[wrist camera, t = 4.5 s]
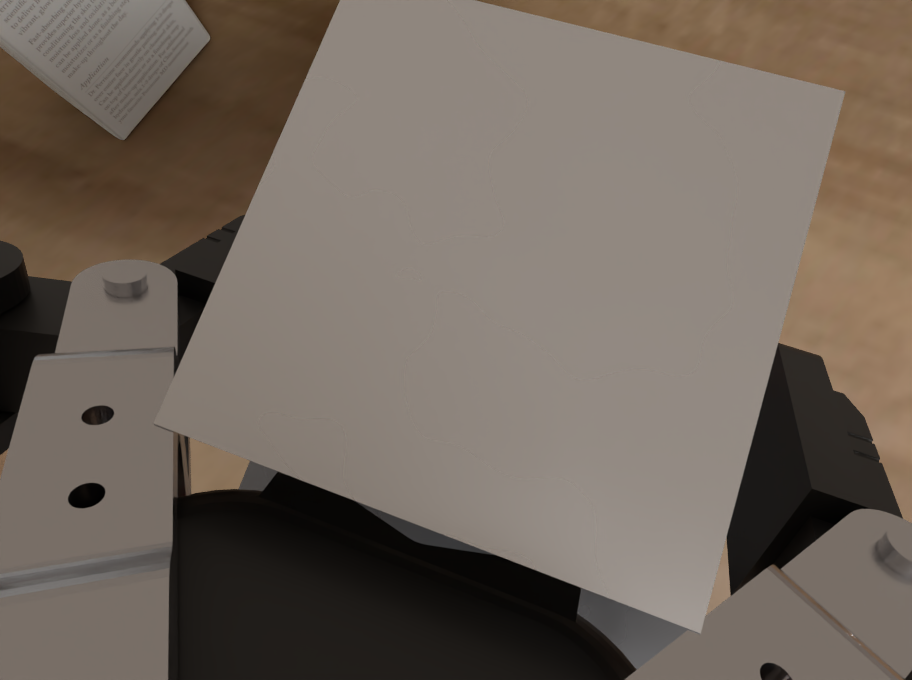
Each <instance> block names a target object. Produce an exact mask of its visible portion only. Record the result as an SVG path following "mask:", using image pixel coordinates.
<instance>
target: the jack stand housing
mask: <svg viewBox="0 0 912 680" xmlns="http://www.w3.org/2000/svg"><path fill="white" fill-rule="evenodd" d="M277 472H278V471H276V470H273V469H271V468H268V467H265V466H263V465H260V464H258V463H255V462H252V461H250V463H249V465H248V467H247V470H246V472H245V475H244V477H243V480H242V482H241V485H240V487H239V489H241V490H258V491H263V490H264V489H265V487H266V486H267V485H268V484H269V482H270V481H271V480H272V478H273V477H274V476H275V475H276V473H277ZM355 502H357V501H355ZM357 503H358V504H360V505H361V506H363V507H364V508H366V509H367V510H369V511H370V512H372V513H373V514H375V515H376V516H377V517H379V518H380V519H382V520H383V521H385V522H386V523H388V524H389V525H391V526H392V527H394V528H395V529H397V530H398V531H399V532H401V533H402V534H404V535H405V536H407V537H408V538H410V539H412V540H413V541H415V542H418V543H421V544H425V545H432V546H438V547H445V548H451V549H458V550H464V551H471V552H478V553H484V554H491V555H495V554H492V553H490V552H487V551H484V550H482V549H479V548H477V547H474V546H471V545H469V544H466V543H463V542H461V541H458V540H456V539H453V538H450V537H448V536H445V535H443V534H440V533H437V532H435V531H432V530H430V529H427V528H424V527H422V526H419V525H417V524H414V523H411V522H409V521H406V520H404V519H401V518H398V517H396V516H393V515H391V514H388V513H385V512H383V511H380V510H377V509H375V508H372V507H370V506H367V505H364V504H362V503H359V502H357ZM577 614H579V615H580V616H582V617H583V618H584V619H586V620H587V621H589V622H590V623H591V624H592V625H594V626H595V627H596V628H597V629H598V630H600V631H601V632H602V633H603V634H605V635H606V636H607V637H608V638H609V639H610V640H611V641H612V642H613V643H614V644H615V645H616V646H617V647H618V648H619V649H620V650H621V651H622V652H623V654H624V655H625V656H626V657H627V658H628V660H629V661H630V662H631V663H632V665H633V666H634V667H635V668H636V669H639V668H640V667H641V666H642V665H644V664H645V663H646V662H648V661H649V660H650V659H651V658H653V657H654V656H655V655H656V654H658V653H659V652H660V651H662V650H663V649H664V648H665V647H667V646H668V645H669V644H671V643H672V642H673V641H674V640H676V639H677V638H678V637H679V636H681V635H682V634H683V633H685V632H686V631H687V630H688V628H685V627H682V626H680V625H677V624H675V623H672V622H669V621H667V620H664V619H661V618H659V617H656V616H654V615H651V614H648V613H646V612H643V611H641V610H638V609H635V608H633V607H630V606H628V605H625V604H622V603H620V602H617V601H615V600H612V599H609V598H607V597H604V596H602V595H599V594H596V593H594V592H591V591H589V590H586V589H583V588H581V593H580V599H579V605H578V611H577Z"/></svg>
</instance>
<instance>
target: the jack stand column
mask: <svg viewBox="0 0 912 680" xmlns="http://www.w3.org/2000/svg"><path fill="white" fill-rule="evenodd" d="M844 94H845V91H841V90H837V89H833V88H829V87H825V86H821V85H817V84H813V83H809V82H805V81H801V80H797V79H793V78H789V77H785V76H780V75H776V74H772V73H768V72H764V71H760V70H756V69H752V68H748V67H744V66H740V65H736V64H732V63H728V62H724V61H719V60H715V59H711V58H707V57H703V56H699V55H695V54H691V53H687V52H683V51H679V50H675V49H671V48H667V47H663V46H658V45H654V44H650V43H646V42H642V41H638V40H634V39H630V38H626V37H622V36H618V35H614V34H610V33H606V32H602V31H597V30H593V29H589V28H585V27H581V26H577V25H573V24H569V23H565V22H561V21H557V20H553V19H549V18H545V17H541V16H536V15H532V14H528V13H524V12H520V11H516V10H512V9H508V8H504V7H500V6H496V5H492V4H488V3H484V2H480V1H475V0H340V2H339V4H338V6H337V8H336V11H335V13H334V15H333V18H332V20H331V22H330V24H329V27H328V29H327V31H326V33H325V36H324V38H323V40H322V42H321V45H320V47H319V49H318V52H317V54H316V56H315V58H314V61H313V63H312V65H311V67H310V70H309V72H308V74H307V76H306V79H305V81H304V83H303V86H302V88H301V90H300V92H299V95H298V97H297V99H296V101H295V104H294V106H293V108H292V111H291V113H290V115H289V117H288V120H287V122H286V124H285V126H284V129H283V131H282V133H281V135H280V138H279V140H278V142H277V145H276V147H275V149H274V151H273V154H272V156H271V158H270V160H269V163H268V165H267V167H266V169H265V172H264V174H263V176H262V179H261V181H260V183H259V185H258V188H257V190H256V192H255V194H254V197H253V199H252V201H251V204H250V206H249V208H248V210H247V213H246V215H245V217H244V219H243V222H242V224H241V226H240V228H239V231H238V233H237V235H236V238H235V240H234V242H233V244H232V247H231V249H230V251H229V253H228V256H227V258H226V260H225V262H224V265H223V267H222V269H221V272H220V274H219V276H218V278H217V281H216V283H215V285H214V287H213V290H212V292H211V294H210V297H209V299H208V301H207V303H206V306H205V308H204V310H203V312H202V315H201V317H200V319H199V321H198V324H197V326H196V328H195V331H194V333H193V335H192V337H191V340H190V342H189V344H188V346H187V349H186V351H185V353H184V356H183V358H182V360H181V362H180V365H179V367H178V369H177V371H176V374H175V376H174V378H173V380H172V383H171V385H170V387H169V390H168V392H167V394H166V396H165V399H164V401H163V403H162V405H161V408H160V410H159V412H158V414H157V417H156V419H155V421H154V424H156V425H159V426H161V427H164V428H166V429H169V430H172V431H174V432H177V433H179V434H182V435H185V436H187V437H190V438H193V439H195V440H198V441H200V442H203V443H206V444H208V445H211V446H213V447H216V448H219V449H221V450H224V451H226V452H229V453H232V454H234V455H237V456H239V457H242V458H245V459H247V460H250V461H252V462H255V463H258V464H260V465H263V466H265V467H268V468H271V469H273V470H276V471H278V472H281V473H284V474H286V475H289V476H292V477H294V478H297V479H299V480H302V481H305V482H307V483H310V484H312V485H315V486H318V487H320V488H323V489H325V490H328V491H331V492H333V493H336V494H338V495H341V496H344V497H346V498H349V499H351V500H354V501H357V502H359V503H362V504H364V505H367V506H370V507H372V508H375V509H377V510H380V511H383V512H385V513H388V514H391V515H393V516H396V517H398V518H401V519H404V520H406V521H409V522H411V523H414V524H417V525H419V526H422V527H424V528H427V529H430V530H432V531H435V532H437V533H440V534H443V535H445V536H448V537H450V538H453V539H456V540H458V541H461V542H463V543H466V544H469V545H471V546H474V547H477V548H479V549H482V550H484V551H487V552H490V553H492V554H495V555H497V556H500V557H503V558H505V559H508V560H510V561H513V562H516V563H518V564H521V565H523V566H526V567H529V568H531V569H534V570H536V571H539V572H542V573H544V574H547V575H549V576H552V577H555V578H557V579H560V580H562V581H565V582H568V583H570V584H573V585H576V586H578V587H581V588H583V589H586V590H589V591H591V592H594V593H596V594H599V595H602V596H604V597H607V598H609V599H612V600H615V601H617V602H620V603H622V604H625V605H628V606H630V607H633V608H635V609H638V610H641V611H643V612H646V613H648V614H651V615H654V616H656V617H659V618H661V619H664V620H667V621H669V622H672V623H675V624H677V625H680V626H682V627H685V628H688V629H690V630H693V631H695V632H698V633H701V630H702V626H703V623H704V619H705V615H706V611H707V608H708V604H709V600H710V596H711V593H712V589H713V585H714V581H715V578H716V574H717V570H718V567H719V563H720V559H721V555H722V552H723V548H724V544H725V540H726V537H727V533H728V529H729V525H730V522H731V518H732V514H733V510H734V507H735V503H736V499H737V495H738V492H739V488H740V484H741V480H742V477H743V473H744V469H745V465H746V462H747V458H748V454H749V450H750V447H751V443H752V439H753V435H754V432H755V428H756V424H757V420H758V417H759V413H760V409H761V405H762V402H763V398H764V394H765V390H766V387H767V383H768V379H769V375H770V372H771V368H772V364H773V360H774V357H775V353H776V349H777V345H778V342H779V338H780V334H781V330H782V327H783V323H784V319H785V315H786V312H787V308H788V304H789V300H790V297H791V293H792V289H793V285H794V282H795V278H796V274H797V270H798V267H799V263H800V259H801V255H802V252H803V248H804V244H805V240H806V237H807V233H808V229H809V225H810V222H811V218H812V214H813V210H814V207H815V203H816V199H817V195H818V192H819V188H820V184H821V180H822V177H823V173H824V169H825V165H826V162H827V158H828V154H829V150H830V147H831V143H832V139H833V135H834V132H835V128H836V124H837V120H838V117H839V113H840V109H841V105H842V102H843V98H844Z"/></svg>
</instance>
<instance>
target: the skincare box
mask: <svg viewBox="0 0 912 680" xmlns="http://www.w3.org/2000/svg"><path fill="white" fill-rule="evenodd" d="M209 40H210V35H209V34H208V32H207V31H206V29H205V28H204V26H203V25H202V24H201V22H200V21H199V19H198V18H197V16H196V15H195V13H194V12H193V11H192V9H191V8H190V6H189V5H188V4H187V2H186V1H185V0H0V47H1V48H2V49H3V50H5V51H6V52H7V53H8V54H10V55H11V56H12V57H13V58H14V59H16V60H17V61H18V62H19V63H21V64H22V65H23V66H24V67H25V68H27V69H28V70H29V71H30V72H31V73H33V74H34V75H35V76H36V77H37V78H39V79H40V80H41V81H42V82H43V83H45V84H46V85H47V86H48V87H50V88H51V89H52V90H53V91H55V92H56V93H57V94H59V95H60V96H61V97H63V98H64V99H65V100H67V101H68V102H69V103H71V104H72V105H73V106H74V107H76V108H77V109H79V110H80V111H81V112H83V113H84V114H85V115H87V116H88V117H89V118H91V119H92V120H93V121H95V122H96V123H97V124H99V125H100V126H101V127H103V128H104V129H105V130H107V131H108V132H109V133H111V134H112V135H114V136H115V137H116V138H118V139H120V140H125V139H126V138H127V136H128V135H129V134H130V133H131V131H132V130H133V129H134V128H135V127H136V125H137V124H138V123H139V122H140V121H141V120H142V118H143V117H144V116H145V115H146V114H147V113H148V111H149V110H150V109H151V108H152V107H153V106H154V104H155V103H156V102H157V101H158V100H159V99H160V98H161V96H162V95H163V94H164V93H165V92H166V90H167V89H168V88H169V87H170V86H171V85H172V83H173V82H174V81H175V80H176V79H177V78H178V76H179V75H180V74H181V73H182V72H183V70H184V69H185V68H186V67H187V66H188V65H189V63H190V62H191V61H192V60H193V59H194V58H195V57H196V55H197V54H198V53H199V52H200V51H201V49H202V48H203V47H204V46H205V45H206V44H207V43H208V42H209Z"/></svg>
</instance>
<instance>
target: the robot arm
mask: <svg viewBox="0 0 912 680" xmlns="http://www.w3.org/2000/svg"><path fill="white" fill-rule="evenodd" d="M244 217H245V215H243V216H240V217H238V218H236V219H235V220H233V221H231V222H230V223H228V224H226V225H225V226H223V227H222V229H221V230H219V229H218V230H216V231H215V232H213V233H211V234H209V235H208V236H207V238H206V239H204V238H203V239H201V240H199V241H198V242H196V243H194V244H193V245H191V246H189V247H188V248H186V249H184V250H183V251H181V252H179V253H178V254H176V255H174V256H173V257H171V258H169V259H168V260H166V261H164V262H162V263H161V264H157V263H154V262H149V261H143V260H116V261H109V262H104V263H100V264H97V265H94V266H92V267H89V268H87V269H85V270H84V271H82V272H80V273H79V274H78V275H77V276H76V277H75V278H74V279H73V281H72V282H70V281H62V280H54V279H46V278H38V277H30V276H28V275H27V270H26V266H25V262H24V258H23V254H22V253H21V251H20V250H19V249H18V248H17V247H15V246H14V245H12V244H9V243H7V242H3V241H0V455H1V454H2V453H3V452H5V451H6V450H7V449H8V448H9V450H8V453H7V457H6V460H5V464H4V468H3V471H2V475H1V479H0V680H912V523H910V522H908V521H906V520H904V519H903V517H902V515H901V512H900V509H899V507H898V504H897V502H896V499H895V496H894V494H893V491H892V488H891V486H890V483H889V481H888V478H887V475H886V473H885V470H884V468H883V465H882V463H879V460H880V457H879V454H878V452H877V449H876V447H875V444H872V441H873V439H872V436H871V433H870V431H869V428H868V426H867V423H866V420H865V418H864V416H863V415H862V414H861V413H860V412H859V411H858V410H857V408H856V407H855V406H854V405H853V404H852V403H851V401H850V400H849V399H848V398H847V397H846V396H845V395H844V394H843V393H840V392H836V391H833V389H832V386H831V383H830V380H829V377H828V374H827V371H826V368H825V365H824V362H823V359H822V357H821V356H819V355H816V354H812V353H809V352H806V351H803V350H799V349H796V348H793V347H790V346H787V345H783V344H780V343H778V345H777V349H776V353H775V357H774V360H773V364H772V368H771V372H770V375H769V379H768V383H767V387H766V390H765V394H764V398H763V402H762V405H761V409H760V413H759V417H758V420H757V424H756V428H755V432H754V435H753V439H752V443H751V447H750V450H749V454H748V458H747V462H746V465H745V469H744V473H743V477H742V480H741V484H740V488H739V492H738V495H737V499H736V503H735V507H734V510H733V514H732V518H731V522H730V525H729V529H728V533H727V549H728V563H729V577H730V592H731V596H730V597H729V598H728V599H727V600H725V601H724V602H723V603H721V604H720V605H719V606H718V607H716V608H715V609H714V610H713V611H711V612H710V613H709V614H707V615H706V616H705V619H704V623H703V626H702V630H701V633H698V632H695V631H693V630H690V629H688V630H687V631H686V632H685V633H683V634H682V635H681V636H679V637H678V638H677V639H676V640H674V641H673V642H672V643H671V644H669V645H668V646H667V647H665V648H664V649H663V650H662V651H660V652H659V653H658V654H656V655H655V656H654V657H653V658H651V659H650V660H649V661H648V662H646V663H645V664H644V665H642V666H641V667H640V668H639V669H636V668H635V667H634V666H633V665H632V663H631V662H630V661H629V660H628V658H627V657H626V656H625V655H624V654H623V652H622V651H621V650H620V649H619V648H618V647H617V646H616V645H615V644H614V643H613V642H612V641H611V640H610V639H609V638H608V637H607V636H606V635H605V634H603V633H602V632H601V631H600V630H598V629H597V628H596V627H595V626H594V625H592V624H591V623H590V622H589V621H587V620H586V619H584V618H583V617H582V616H580V615H579V614H577V611H578V605H579V599H580V593H581V587H578V586H576V585H573V584H570V583H568V582H565V581H562V580H560V579H557V578H555V577H552V576H549V575H547V574H544V573H542V572H539V571H536V570H534V569H531V568H529V567H526V566H523V565H521V564H518V563H516V562H513V561H510V560H508V559H505V558H503V557H500V556H497V555H491V554H484V553H478V552H471V551H464V550H458V549H451V548H445V547H438V546H432V545H425V544H421V543H418V542H415V541H413V540H412V539H410V538H408V537H407V536H405V535H404V534H402V533H401V532H399V531H398V530H397V529H395V528H394V527H392V526H391V525H389V524H388V523H386V522H385V521H383V520H382V519H380V518H379V517H377V516H376V515H375V514H373V513H372V512H370V511H369V510H367V509H366V508H364V507H363V506H361V505H360V504H358V503H357V502H355V501H354V500H351V499H349V498H346V497H344V496H341V495H338V494H336V493H333V492H331V491H328V490H325V489H323V488H320V487H318V486H315V485H312V484H310V483H307V482H305V481H302V480H299V479H297V478H294V477H292V476H289V475H286V474H284V473H281V472H277V473H276V475H275V476H274V477H273V478H272V480H271V481H270V482H269V484H268V485H267V486H266V487H265V489H264V490H263V491H258V490H241V489H230V490H214V491H208V492H201V493H195V494H191V463H190V437H187V436H185V435H182V434H179V433H177V432H174V431H172V430H169V429H166V428H164V427H161V426H159V425H156V424H154V421H155V419H156V417H157V414H158V412H159V410H160V408H161V405H162V403H163V401H164V399H165V396H166V394H167V392H168V390H169V387H170V385H171V383H172V380H173V378H174V376H175V374H176V371H177V369H178V367H179V365H180V362H181V360H182V358H183V356H184V353H185V351H186V349H187V346H188V344H189V342H190V340H191V337H192V335H193V333H194V331H195V328H196V326H197V324H198V321H199V319H200V317H201V315H202V312H203V310H204V308H205V306H206V303H207V301H208V299H209V297H210V294H211V292H212V290H213V287H214V285H215V283H216V281H217V278H218V276H219V274H220V272H221V269H222V267H223V265H224V262H225V260H226V258H227V256H228V253H229V251H230V249H231V247H232V244H233V242H234V240H235V238H236V235H237V233H238V231H239V228H240V226H241V224H242V222H243V219H244Z"/></svg>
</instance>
